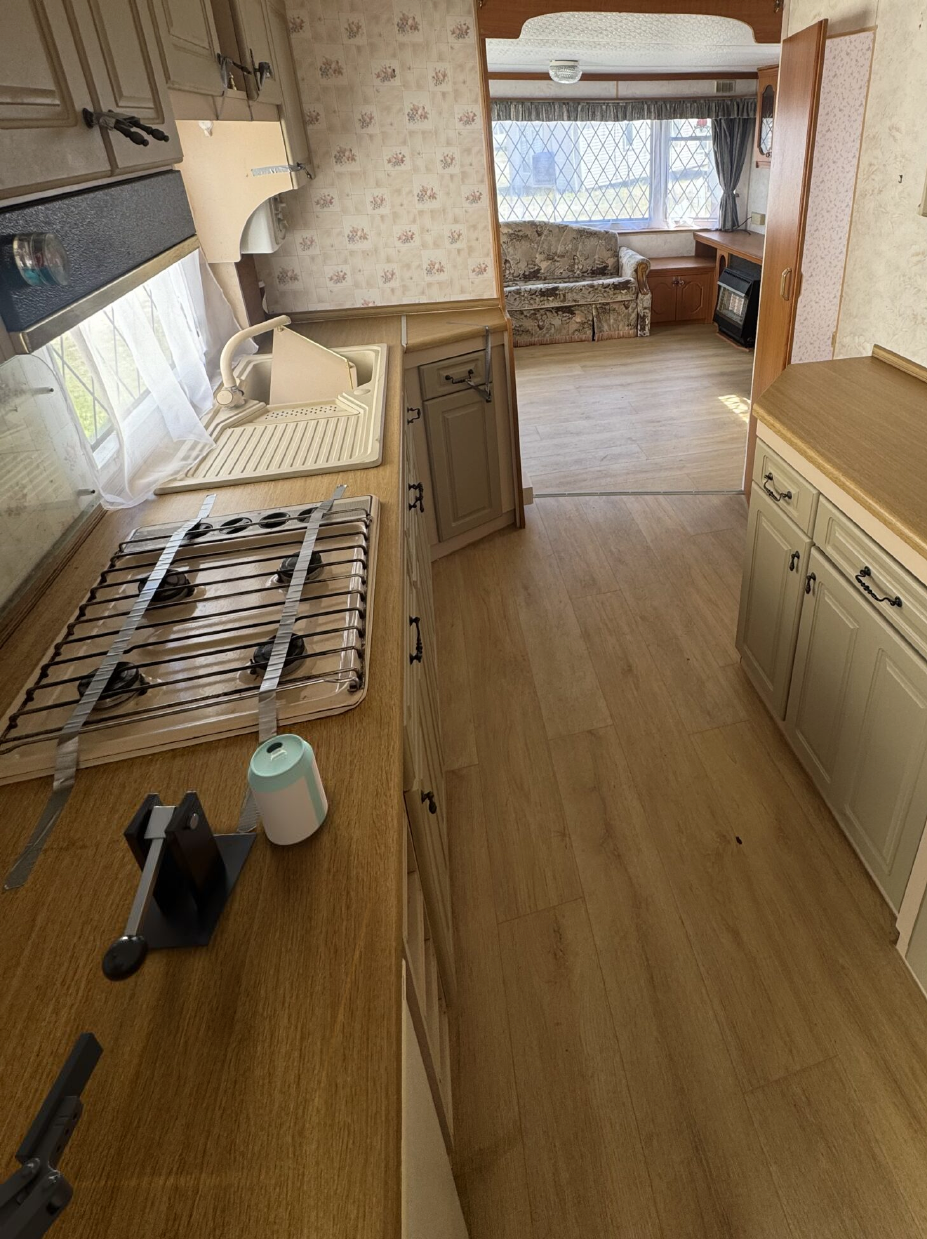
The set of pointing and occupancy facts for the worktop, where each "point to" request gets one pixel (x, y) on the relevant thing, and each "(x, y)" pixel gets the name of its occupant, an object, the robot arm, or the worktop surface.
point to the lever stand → (187, 873)
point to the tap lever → (139, 906)
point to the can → (287, 789)
